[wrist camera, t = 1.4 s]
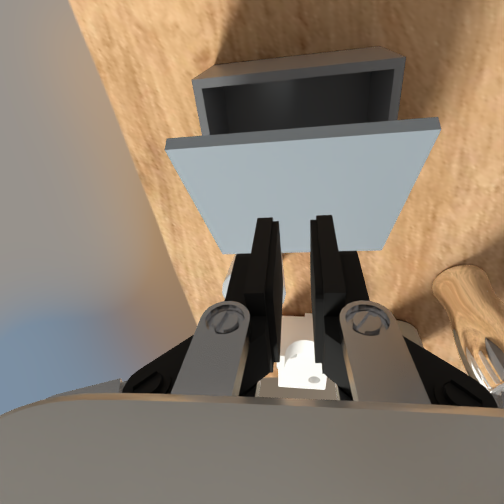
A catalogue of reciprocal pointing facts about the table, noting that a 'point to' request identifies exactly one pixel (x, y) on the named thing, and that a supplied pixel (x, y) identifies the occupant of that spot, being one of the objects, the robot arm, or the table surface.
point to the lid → (304, 180)
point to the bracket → (299, 355)
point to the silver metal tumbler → (474, 322)
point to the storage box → (300, 91)
